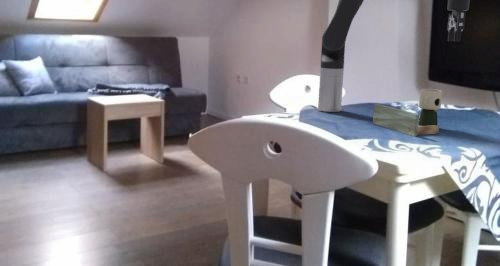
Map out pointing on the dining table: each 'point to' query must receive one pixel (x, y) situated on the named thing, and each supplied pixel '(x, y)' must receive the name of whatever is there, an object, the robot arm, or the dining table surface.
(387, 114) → the oak dock
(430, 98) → the character mug
